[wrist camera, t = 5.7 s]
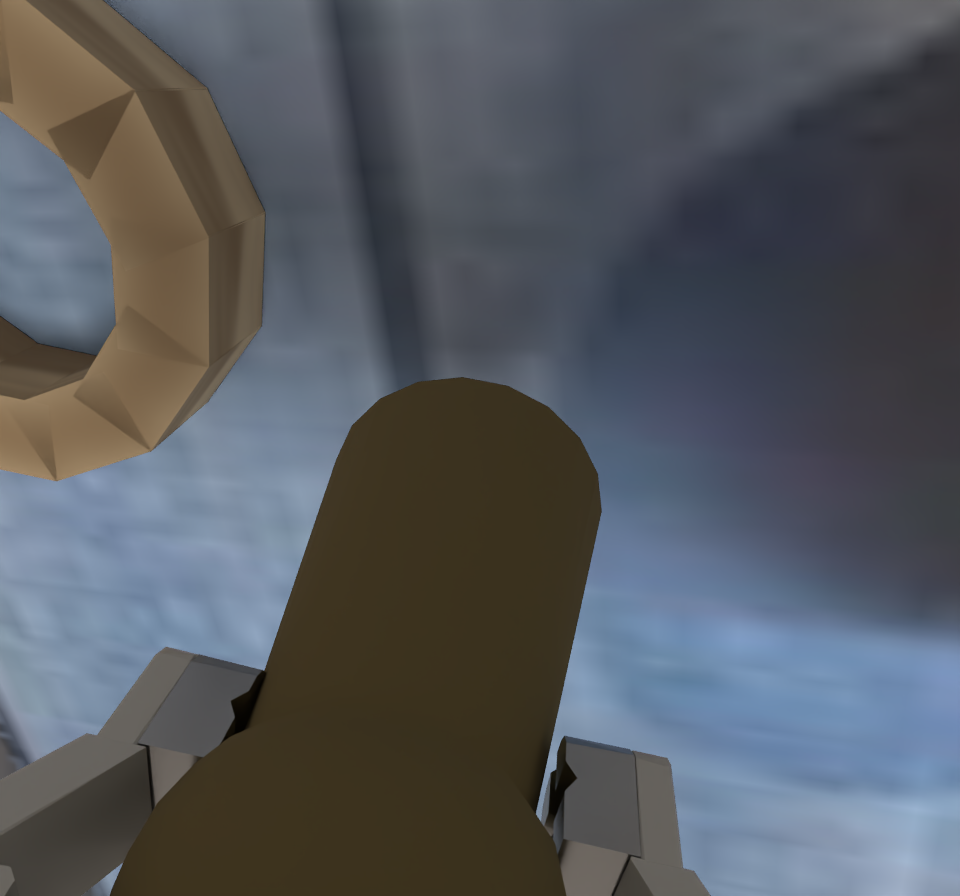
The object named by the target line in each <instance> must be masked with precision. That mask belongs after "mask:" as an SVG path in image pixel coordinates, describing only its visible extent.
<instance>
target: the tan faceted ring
mask: <svg viewBox="0 0 960 896" xmlns="http://www.w3.org/2000/svg"><path fill="white" fill-rule="evenodd" d="M0 111H1V112H3V113H4V114H5V115H6V116H8V117H9V118H10V119H12V120H13V121H14V122H15V123H17V124H18V125H19V126H21V127H22V128H23V129H24V130H26V131H27V132H28V133H29V134H31V135H32V136H33V137H35V138H36V139H37V140H38V141H40V142H41V143H42V144H43V145H45V146H46V147H47V148H49V149H50V150H51V151H52V152H54V153H55V154H56V155H57V156H59V157H60V158H61V159H63V160H64V162H65V164H66V165H67V167H68V169H69V171H70V172H71V174H72V176H73V178H74V180H75V181H76V183H77V185H78V187H79V189H80V190H81V192H82V194H83V196H84V198H85V199H86V201H87V203H88V205H89V206H90V208H91V210H92V212H93V214H94V215H95V217H96V219H97V221H98V223H99V224H100V226H101V228H102V230H103V231H104V233H105V235H106V237H107V239H108V240H109V242H110V244H111V254H112V270H113V285H114V301H115V316H116V325H115V327H114V328H113V330H112V332H111V333H110V335H109V337H108V338H107V340H106V342H105V343H104V345H103V347H102V349H101V350H100V352H99V354H98V355H97V356H95V355H90V354H85V353H80V352H76V351H71V350H66V349H61V348H56V347H51V346H47V345H42V344H38V343H36V342H35V341H34V340H32V339H31V338H29V337H28V336H27V335H25V334H24V333H23V332H21V331H20V330H18V329H17V328H16V327H14V326H13V325H11V324H10V323H9V322H7V321H6V320H4V319H3V318H2V317H0V469H1V470H6V471H11V472H16V473H20V474H25V475H30V476H34V477H39V478H44V479H49V480H53V481H59V480H62V479H65V478H68V477H71V476H74V475H78V474H81V473H84V472H87V471H90V470H93V469H96V468H100V467H103V466H106V465H109V464H112V463H115V462H118V461H122V460H125V459H128V458H131V457H134V456H137V455H140V454H144V453H147V452H151V451H152V450H153V449H154V448H156V447H157V446H158V445H159V444H160V443H161V442H162V441H164V440H165V439H166V438H167V437H168V436H169V435H170V434H172V433H173V432H174V431H175V430H176V429H177V428H178V427H180V426H181V425H182V424H183V423H184V422H185V421H186V420H188V419H189V418H190V417H191V416H192V415H193V414H194V413H196V412H197V411H198V410H199V409H200V408H201V407H202V406H204V405H205V404H206V403H207V402H208V401H209V399H210V398H211V397H212V395H213V394H214V392H215V391H216V390H217V388H218V387H219V385H220V384H221V382H222V381H223V380H224V378H225V377H226V375H227V374H228V373H229V371H230V370H231V368H232V367H233V365H234V364H235V363H236V361H237V360H238V358H239V357H240V356H241V354H242V353H243V351H244V350H245V349H246V347H247V346H248V344H249V343H250V341H251V340H252V339H253V337H254V336H255V334H256V333H257V332H258V330H259V329H260V327H261V326H262V298H263V266H264V234H265V214H266V213H265V211H264V209H263V207H262V205H261V203H260V201H259V198H258V196H257V194H256V192H255V190H254V188H253V186H252V183H251V181H250V179H249V177H248V175H247V173H246V171H245V169H244V166H243V164H242V162H241V160H240V158H239V156H238V154H237V151H236V149H235V147H234V145H233V143H232V141H231V139H230V136H229V134H228V132H227V130H226V128H225V126H224V124H223V121H222V119H221V117H220V115H219V113H218V111H217V109H216V106H215V104H214V102H213V100H212V98H211V96H210V94H209V91H208V89H207V87H205V86H204V85H202V84H201V83H200V82H199V81H198V80H197V79H195V78H194V77H193V76H192V75H191V74H189V73H188V72H187V71H186V70H185V69H184V68H182V67H181V66H180V65H179V64H178V63H176V62H175V61H174V60H173V59H172V58H171V57H169V56H168V55H167V54H166V53H165V52H164V51H162V50H161V49H160V48H159V47H158V46H156V45H155V44H154V43H153V42H152V41H151V40H149V39H148V38H147V37H146V36H145V35H143V34H142V33H141V32H140V31H139V30H138V29H136V28H135V27H134V26H133V25H132V24H130V23H129V22H128V21H127V20H126V19H125V18H123V17H122V16H121V15H120V14H119V13H117V12H116V11H115V10H114V9H113V8H112V7H110V6H109V5H108V4H107V3H106V2H104V1H103V0H0Z"/></svg>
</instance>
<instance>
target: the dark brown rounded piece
mask: <svg viewBox="0 0 960 896" xmlns="http://www.w3.org/2000/svg"><path fill="white" fill-rule="evenodd" d="M601 512H602V510H601V500H600V491H599V481H598V473H597V471H596V469H595V467H594V465H593V463H592V461H591V459H590V457H589V455H588V453H587V451H586V449H585V447H584V445H583V443H582V441H581V439H580V438H579V437H578V436H577V435H576V434H575V433H574V432H573V431H572V430H571V429H570V428H569V427H568V426H567V425H566V424H565V423H564V422H563V421H562V420H561V419H560V418H559V417H558V416H557V415H556V414H555V413H554V412H553V411H552V410H551V409H550V408H549V407H548V406H546V405H544V404H542V403H540V402H538V401H536V400H534V399H532V398H530V397H528V396H526V395H525V394H523V393H521V392H519V391H517V390H515V389H513V388H511V387H509V386H506V385H500V384H495V383H490V382H485V381H480V380H475V379H469V378H464V377H460V378H450V379H441V380H431V381H421V382H417V383H414V384H412V385H410V386H408V387H405V388H403V389H401V390H399V391H396V392H394V393H392V394H390V395H387V396H385V397H383V398H381V399H379V400H378V401H377V402H376V403H375V404H374V405H373V406H372V407H371V408H370V409H369V410H368V411H367V412H366V413H365V414H364V415H363V416H361V417H360V418H359V419H358V420H357V421H356V422H355V423H354V424H353V425H352V427H351V429H350V431H349V433H348V435H347V437H346V440H345V442H344V444H343V446H342V448H341V450H340V452H339V455H338V457H337V459H336V462H335V465H334V468H333V471H332V474H331V477H330V480H329V483H328V486H327V488H326V491H325V494H324V497H323V500H322V503H321V506H320V509H319V512H318V515H317V518H316V521H315V524H314V527H313V530H312V532H311V535H310V538H309V541H308V544H307V547H306V550H305V553H304V556H303V559H302V562H301V565H300V568H299V571H298V574H297V577H296V579H295V582H294V585H293V588H292V591H291V594H290V597H289V600H288V603H287V606H286V609H285V612H284V615H283V618H282V621H281V623H280V626H279V629H278V632H277V635H276V638H275V641H274V644H273V647H272V650H271V653H270V656H269V659H268V662H267V665H266V668H265V670H264V671H265V672H266V675H265V677H264V680H263V683H262V686H261V688H260V691H259V694H258V696H257V699H256V702H255V704H254V707H253V710H252V712H251V715H250V718H249V720H248V722H247V724H246V727H245V729H244V731H242V732H240V733H237V734H235V735H233V736H231V737H229V738H228V739H227V740H225V741H224V742H223V743H221V744H220V745H219V746H217V747H216V748H215V749H213V750H212V751H211V752H209V753H208V754H207V755H205V756H204V757H203V758H201V759H200V760H199V761H197V762H196V763H195V764H194V765H193V766H192V767H191V768H190V769H189V770H188V771H187V772H186V773H185V774H184V775H183V776H182V777H181V779H180V780H179V781H178V782H177V783H176V784H175V785H174V786H173V787H172V788H171V789H170V790H169V791H168V792H167V793H166V794H165V795H164V796H163V797H162V798H161V800H160V801H159V802H158V803H157V804H156V806H155V808H154V809H153V811H152V813H151V814H150V816H149V818H148V819H147V821H146V823H145V824H144V826H143V828H142V830H141V831H140V833H139V835H138V836H137V838H136V840H135V841H134V843H133V845H132V846H131V848H130V850H129V851H128V853H127V855H126V858H125V860H124V862H123V865H122V867H121V869H120V872H119V874H118V876H117V879H116V881H115V883H114V885H113V888H112V890H111V894H110V896H566V891H565V886H564V882H563V877H562V872H561V868H560V863H559V859H558V854H557V849H556V845H555V842H554V840H553V839H552V837H551V836H550V835H549V833H548V832H547V830H546V829H545V827H544V826H543V824H542V823H541V821H540V820H539V818H538V817H537V815H536V810H537V805H538V801H539V796H540V791H541V787H542V782H543V778H544V773H545V769H546V764H547V759H548V755H549V750H550V746H551V741H552V736H553V732H554V727H555V723H556V718H557V714H558V709H559V704H560V700H561V695H562V691H563V686H564V681H565V677H566V672H567V668H568V663H569V659H570V654H571V649H572V645H573V640H574V636H575V631H576V626H577V622H578V617H579V613H580V608H581V604H582V599H583V594H584V590H585V585H586V581H587V576H588V571H589V567H590V562H591V558H592V553H593V549H594V544H595V539H596V535H597V530H598V526H599V521H600V516H601Z"/></svg>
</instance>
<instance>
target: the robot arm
mask: <svg viewBox="0 0 960 896" xmlns="http://www.w3.org/2000/svg"><path fill="white" fill-rule="evenodd" d="M265 675H266V672H265V671H263V670H260V669H256V668H252V667H248V666H244V665H240V664H236V663H232V662H228V661H224V660H220V659H216V658H212V657H208V656H204V655H200V654H194V653H190V652H186V651H182V650H178V649H173V648H169V647H165V648H164V649H162V650H161V651H160V652H158V653H157V654H156V655H155V656H154V658H153V659H152V660H151V662H150V663H149V664H148V666H147V667H146V669H145V670H144V671H143V673H142V674H141V675H140V677H139V678H138V680H137V681H136V682H135V684H134V685H133V686H132V688H131V689H130V691H129V692H128V693H127V695H126V696H125V697H124V699H123V700H122V702H121V703H120V704H119V706H118V707H117V708H116V710H115V711H114V713H113V714H112V715H111V717H110V718H109V719H108V721H107V722H106V724H105V725H104V726H103V728H102V729H101V730H100V732H99V733H98V735H93V734H88V733H86V734H85V735H83V736H81V737H79V738H77V739H75V740H73V741H72V742H70V743H68V744H66V745H64V746H62V747H60V748H59V749H57V750H55V751H53V752H51V753H49V754H47V755H46V756H44V757H42V758H40V759H38V760H36V761H34V762H33V763H31V764H29V765H27V766H25V767H23V768H21V769H20V770H18V771H16V772H14V773H12V774H10V775H8V776H7V777H5V778H3V779H1V780H0V896H81V895H82V894H84V893H85V892H86V891H88V890H89V889H90V888H91V887H93V886H94V885H95V884H96V883H98V882H99V881H100V880H101V879H103V878H104V877H105V876H106V875H108V874H109V873H110V872H111V871H113V870H114V869H115V868H116V867H118V866H119V865H120V864H121V863H123V862H124V860H125V858H126V855H127V853H128V851H129V850H130V848H131V846H132V845H133V843H134V841H135V840H136V838H137V836H138V835H139V833H140V831H141V830H142V828H143V826H144V824H145V823H146V821H147V819H148V818H149V816H150V814H151V813H152V811H153V809H154V808H155V806H156V804H157V803H158V802H159V801H160V800H161V798H162V797H163V796H164V795H165V794H166V793H167V792H168V791H169V790H170V789H171V788H172V787H173V786H174V785H175V784H176V783H177V782H178V781H179V780H180V779H181V777H182V776H183V775H184V774H185V773H186V772H187V771H188V770H189V769H190V768H191V767H192V766H193V765H194V764H195V763H196V762H197V761H199V760H200V759H201V758H203V757H204V756H205V755H207V754H208V753H209V752H211V751H212V750H213V749H215V748H216V747H217V746H219V745H220V744H221V743H223V742H224V741H225V740H227V739H228V738H229V737H231V736H233V735H235V734H237V733H240V732H242V731H244V729H245V727H246V724H247V722H248V720H249V718H250V715H251V712H252V710H253V707H254V704H255V702H256V699H257V696H258V694H259V691H260V688H261V686H262V683H263V680H264V677H265ZM541 823H542V824H543V826H544V827H545V829H546V830H547V832H548V833H549V835H550V836H551V837H552V839H553V840H554V842H555V845H556V849H557V854H558V859H559V863H560V868H561V872H562V877H563V882H564V886H565V891H566V896H711V895H710V894H709V892H708V891H707V889H706V888H705V886H704V885H703V883H702V882H701V881H700V879H699V878H698V876H697V875H696V873H695V872H694V871H692V870H688V869H685V868H683V862H682V854H681V845H680V837H679V828H678V820H677V812H676V803H675V795H674V786H673V778H672V770H671V764H670V762H669V760H668V759H667V758H665V757H660V756H656V755H651V754H646V753H642V752H637V751H631V750H630V749H626V748H621V747H616V746H612V745H607V744H602V743H597V742H592V741H587V740H583V739H578V738H573V737H568V736H564V737H563V739H562V740H561V743H560V746H559V749H558V752H557V768H556V770H555V771H553V772H551V774H550V778H549V781H548V785H547V788H546V793H545V798H544V803H543V808H542V817H541Z"/></svg>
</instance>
